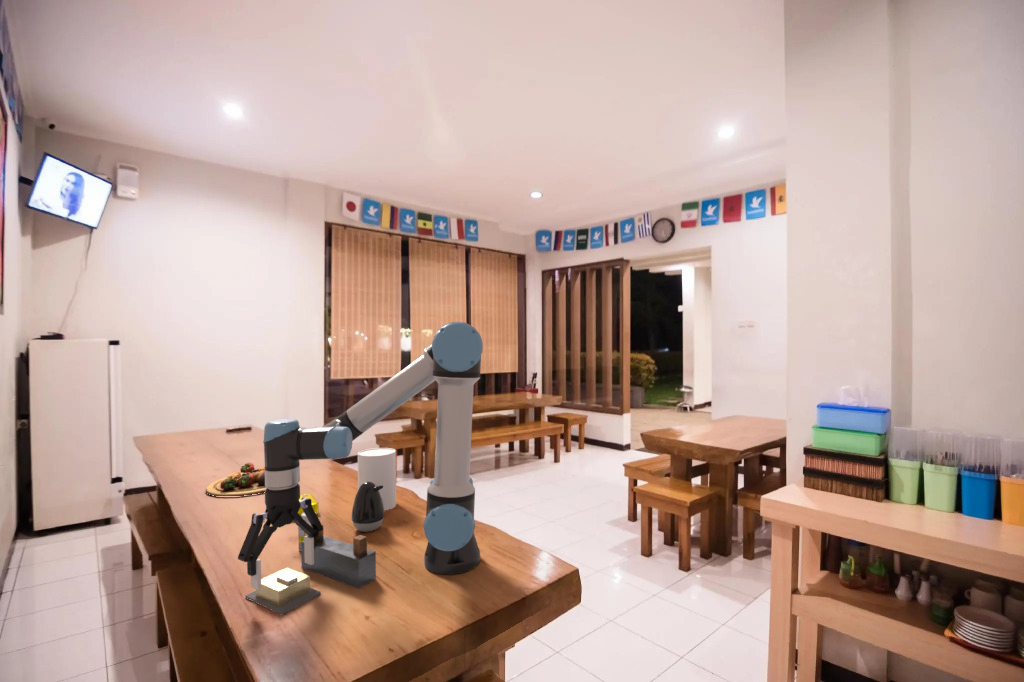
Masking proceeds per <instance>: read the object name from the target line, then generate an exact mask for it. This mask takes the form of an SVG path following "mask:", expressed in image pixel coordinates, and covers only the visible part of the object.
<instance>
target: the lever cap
mask: <svg viewBox="0 0 1024 682" xmlns="http://www.w3.org/2000/svg"><path fill="white" fill-rule="evenodd" d="M310 588H311V576H310V575H309V574H306V573H303V572H300V571H297V570H295V569H292V568H290V567H284V568H283V569H280V570H278V571H276V572H273V573H271V574H269V575H267V576H265V577H263V578H262V577H261V589H260V590H256V589H255V591H256V597H258V598H260V599H262V600H265V601H267V602H269V603H271V604H273V605H276V606H278V607H280V606H282V605H284V604H286V603H288V602H290V601H291V600H293V599H295V598H297V597H299V596H301V595H303V594H305V593H307V592H309V591H310Z"/></svg>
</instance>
